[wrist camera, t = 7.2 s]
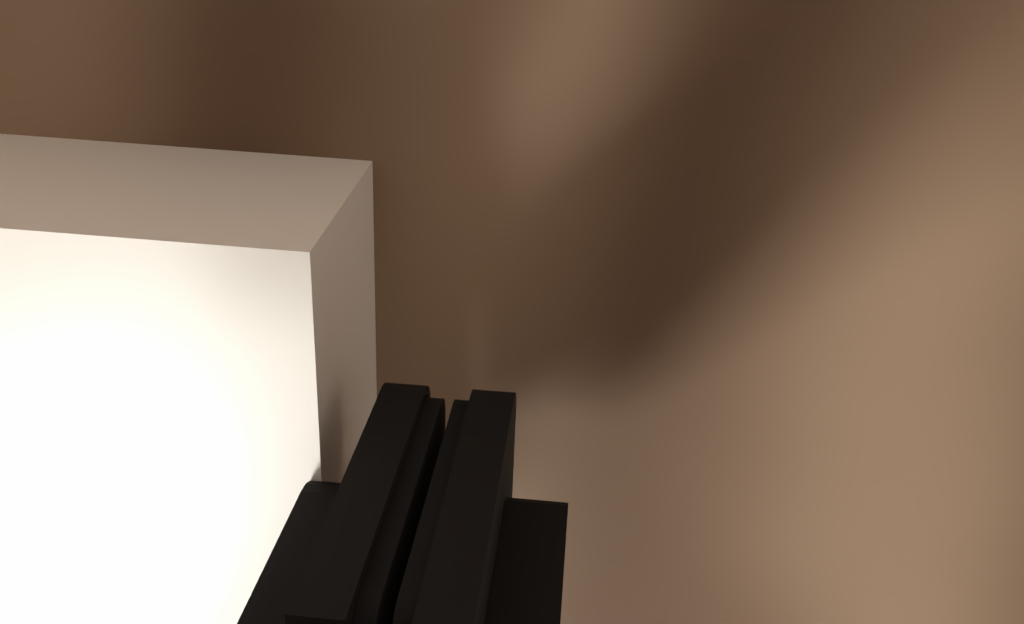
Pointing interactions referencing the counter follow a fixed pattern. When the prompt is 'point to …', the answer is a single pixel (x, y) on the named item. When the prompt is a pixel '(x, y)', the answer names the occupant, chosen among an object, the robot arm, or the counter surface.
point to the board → (655, 262)
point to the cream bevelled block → (171, 369)
